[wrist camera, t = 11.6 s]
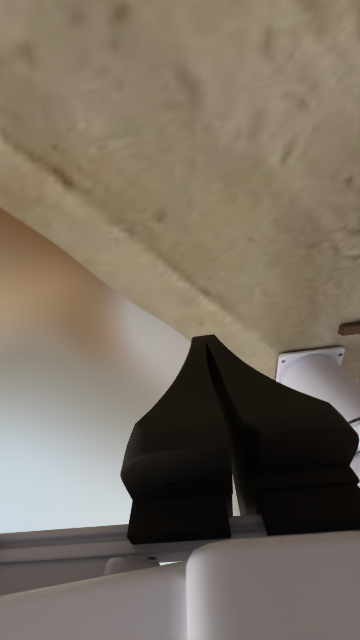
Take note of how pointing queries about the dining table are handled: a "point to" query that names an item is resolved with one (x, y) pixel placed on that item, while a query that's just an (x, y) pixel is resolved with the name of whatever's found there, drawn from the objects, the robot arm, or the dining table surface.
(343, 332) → the walnut spoon
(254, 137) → the dining table surface
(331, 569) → the robot arm
